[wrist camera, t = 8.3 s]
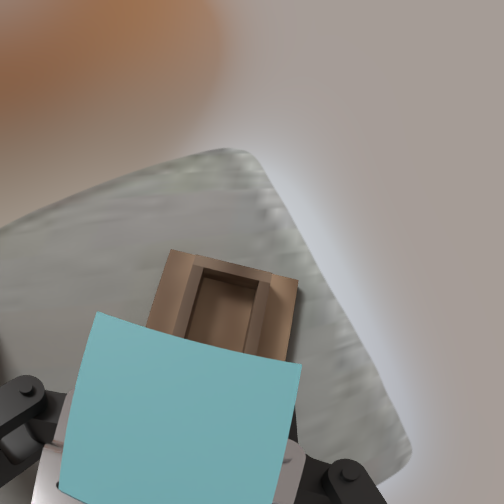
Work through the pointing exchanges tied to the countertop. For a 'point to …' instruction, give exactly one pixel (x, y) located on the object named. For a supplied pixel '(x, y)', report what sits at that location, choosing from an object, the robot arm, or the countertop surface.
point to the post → (174, 420)
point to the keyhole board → (224, 305)
